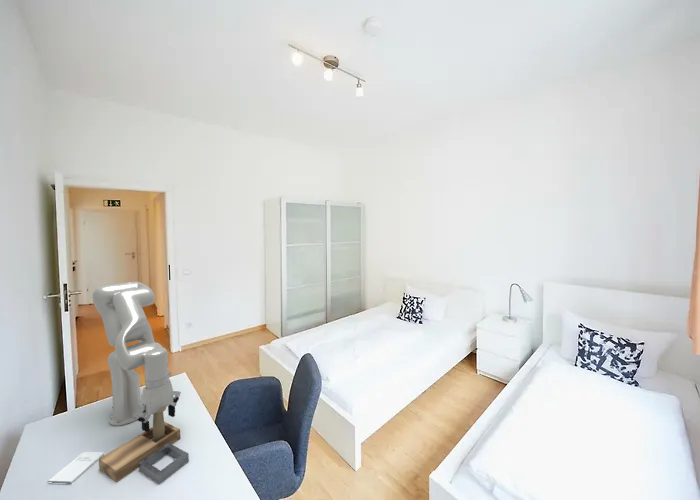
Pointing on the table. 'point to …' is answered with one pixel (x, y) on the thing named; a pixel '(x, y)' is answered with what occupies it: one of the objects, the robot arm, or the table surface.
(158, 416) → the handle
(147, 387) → the robot arm
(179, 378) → the table surface
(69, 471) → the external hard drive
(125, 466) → the wooden box
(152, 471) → the collar
